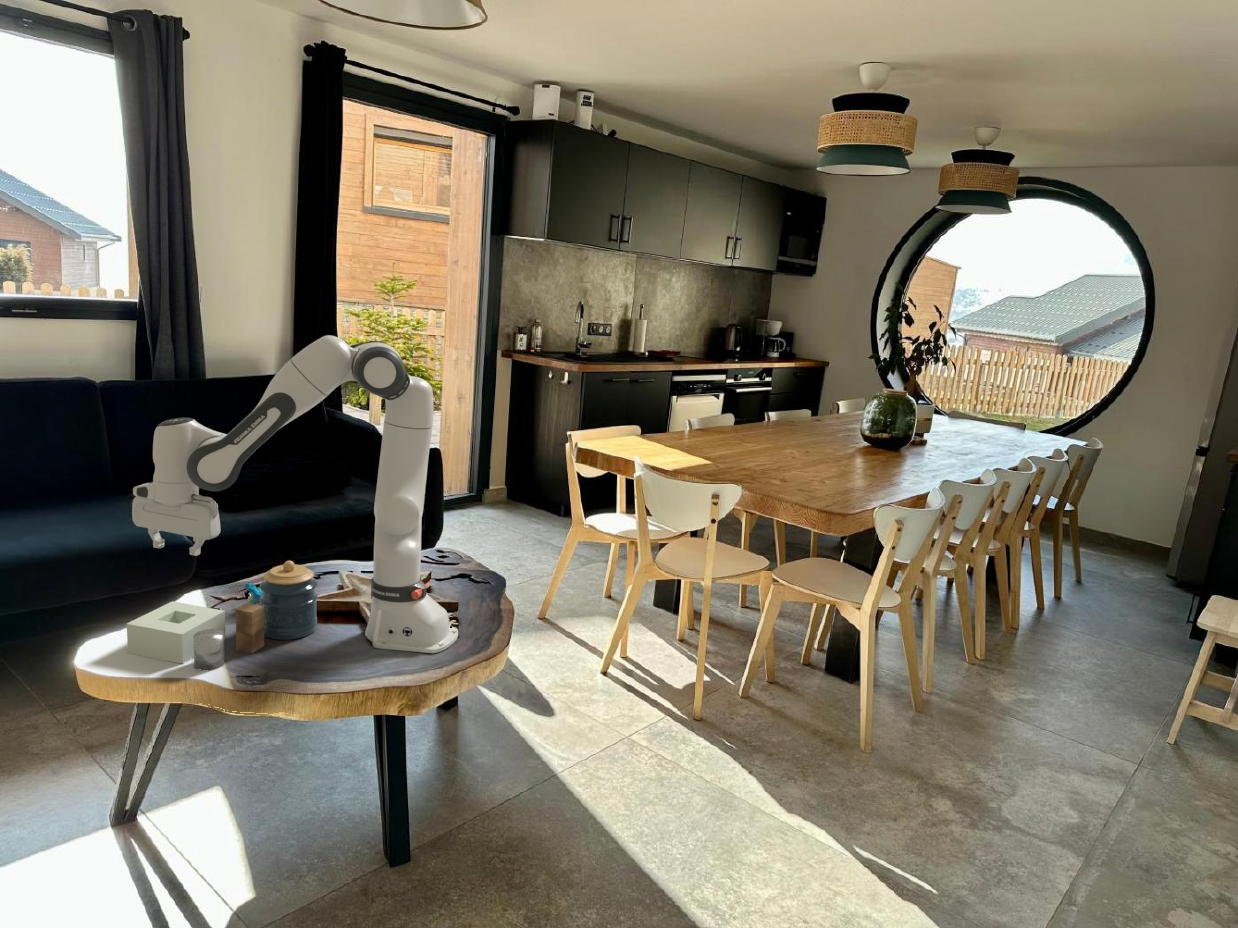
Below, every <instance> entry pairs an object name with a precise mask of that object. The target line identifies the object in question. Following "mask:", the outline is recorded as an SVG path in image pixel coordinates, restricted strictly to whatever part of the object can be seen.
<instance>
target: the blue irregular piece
mask: <svg viewBox="0 0 1238 928" xmlns="http://www.w3.org/2000/svg"><path fill="white" fill-rule="evenodd" d="M244 587H245V588H246V589H247V591H248V592H250V593H251V596H252V598H251V599H250V600H249V601H248V602H247V603H251V604H257V605H260V604H261V602H260V597H261V595H262V590H261V589H260V587H258V586H256V585H255V584H252V583H250V582H249V581H247V582H246V583H245V584H244ZM259 603H260V604H259Z"/></svg>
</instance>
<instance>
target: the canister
mask: <svg viewBox="0 0 1238 928" xmlns="http://www.w3.org/2000/svg"><path fill="white" fill-rule="evenodd" d="M314 576H315V573H314V571H313V570H312V569H309V568H307V567H306V566H304V565H302V564H301V565H300V564H295V562H294V561H292V560H287V561H285V562H283V564H280V565H276V566H273V567H272V568H271V569H268V571H266V572H265V573H264V574H263V579H264V580H263V581H261V582H260V584H259V588H260V589H261V591H262V595H261V597H260V605H262V606H264V637H265V638H268V639H273V640H283V641H284V640H285V641H288V640H296V639H297V640H298V639H301V638H304V637H308V636H310V635H311V634H312V633H314V632H315V631H316V629H317V625H318V616H317V606H318V605H317V604H318V603H317V599H318V594H317V592H316V588H317V587H318V581H317V579H316V578H314Z"/></svg>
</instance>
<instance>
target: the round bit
mask: <svg viewBox="0 0 1238 928" xmlns="http://www.w3.org/2000/svg"><path fill="white" fill-rule="evenodd" d="M193 644H194V658H193V667H194V666H195V667H194V668H195V669H196V668H197V669H196V670H198V669H201V670H200V671H202V670H208V671H214V670H218V669H220V668H221V667H223V666H224V665H225V639H224V632H223V631H221V630H218V629H206V630H202V631H199V632H197V633H195V634H194V635H193Z"/></svg>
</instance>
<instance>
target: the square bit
mask: <svg viewBox="0 0 1238 928" xmlns="http://www.w3.org/2000/svg"><path fill="white" fill-rule="evenodd" d="M235 636H236V637H235V640H236V642H235V644H236V646H235V649H236V651H238V652H243V653H249V654H254V653H255V652H257V651H259V650H261V649H262V648H264V647H265V636H264V606H262V605H261V604H258V603H257V604H251V603H248V602H247V603H245V604H243V605H241V606H239V607H237V608H236V609H235Z"/></svg>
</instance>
